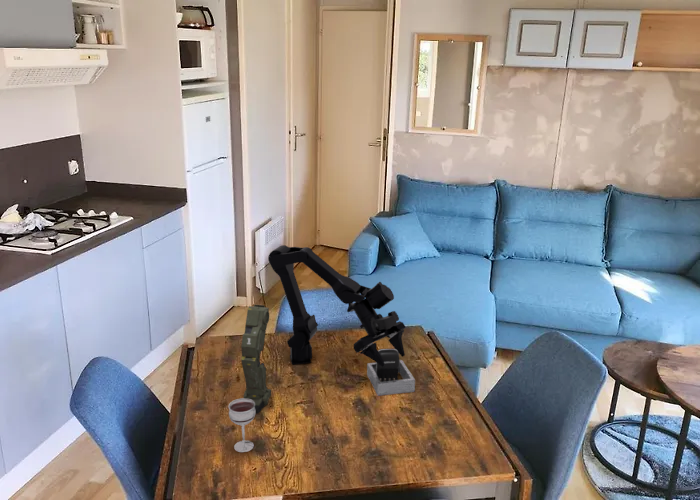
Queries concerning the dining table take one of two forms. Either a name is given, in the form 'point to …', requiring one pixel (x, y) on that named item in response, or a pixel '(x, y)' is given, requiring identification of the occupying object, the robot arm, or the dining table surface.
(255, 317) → the mechanical leg
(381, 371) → the battery charger
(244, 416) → the wineglass
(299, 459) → the dining table surface
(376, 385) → the hollow square metal frame
